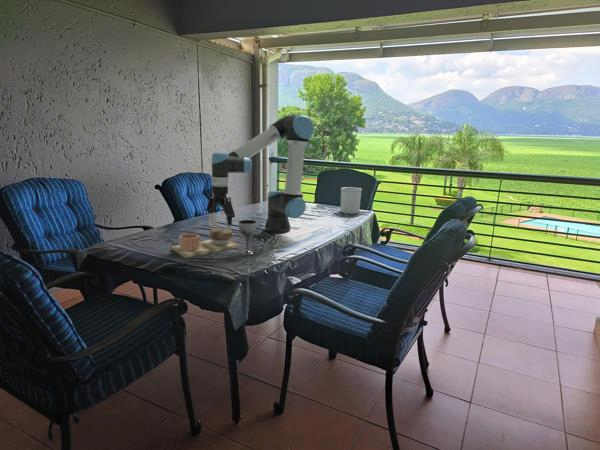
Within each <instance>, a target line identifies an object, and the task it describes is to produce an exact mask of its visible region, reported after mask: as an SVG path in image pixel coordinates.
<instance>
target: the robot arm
mask: <svg viewBox="0 0 600 450" xmlns="http://www.w3.org/2000/svg"><path fill="white" fill-rule="evenodd" d="M314 125H315V124H314V123H313V120H312V119H311V118H310V117H308V116H306V115H303V114H298V115H297V114H295V115H292V114H291V115H286V116H283V117H281V118H279V119H278V120H276V121H275V122H273V123H272V124H270V125H269V126H268V128H267V129H266V130H264V131H262V132H260V133H259V134H258V135H256V136H254V137H253V138H251V139H250V140H248V141H247V142H245V143H244V144H242V145H241V146H239V147H237V148H236V149H233V151H231V152H229V153H227V152H213V153H212V155H211V184H212V186H211V193H210V194H209V198H208V201H207V206H206V208H205V210H206V212H208V222H209V227H215V225H216V224H215V223H216V221H215V220H216V219H215V215H216V213H215V211H216V208H217V207H218V205H219V206H220V207H221V208H222V209H223V212H224V214H225V216H226V218H225V228H226V232H229V231H231V230H232V225H233V218H235V217H236V215H235V211H234V207H233V204H232V199H231V197H230V196H227V194H229V186H228V185H229V174H232V173H233V174H234V173H235V174H237V173H238V174H245V173H251V170H252V168H253V163H252V162H253V161H252V160H251V158H252V157H253V156H255V155H256V154H258V153H259V152H261V151H263V150H264V149H266V148H267V147H268V146H271V145H272V144H273V143H275V142H280V141H282V140H283V139H286V142H287V144H288V152H287V163H286V173H285V183H284V186H285V187H284V189H283V190H271V191H270V190H269V192H268V194H267V218H266V221H265V224H264V231H266V232H267V233H273V234H282V233H288V232H290V231H291V223H290V220H289V219H290V218H291V219H298V218H300V217H301V216H302V215H303V214H305V212H306V208H307V204H306V201H305V199H304V193H303V192H302V190H301V189H302V179H303V170H304V169H303V168H304V160H305V152H306V151H305V150H306V146H307V144H309V139H310V138H312V136H313V134H314V131H315V126H314Z"/></svg>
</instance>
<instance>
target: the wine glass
mask: <svg viewBox="0 0 600 450" xmlns="http://www.w3.org/2000/svg"><path fill="white" fill-rule="evenodd" d="M256 228H257V221H256V220H253V219H242V220H238V230H239V233H240V236H242V238H244V240H245V243H246V244H245V245H246V249H243V250H240V251H239V254H241V255H245V256H248V255H249V256H250V255H254V254H255V253H256V252H255V251H254V250H252V249H249V243H250V239H251V238H252V237H253V236H254V235H255V233H256Z"/></svg>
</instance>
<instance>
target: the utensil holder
mask: <svg viewBox="0 0 600 450" xmlns="http://www.w3.org/2000/svg"><path fill="white" fill-rule="evenodd" d="M362 190H363V189H362V188H361V187H353V186H347V187H345V186H344V187H341V188H340V213H342V212H343V213H342V214H347V213H349V215H357V214H359V213H360V208H361V197H362ZM356 213H357V214H356Z"/></svg>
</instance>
